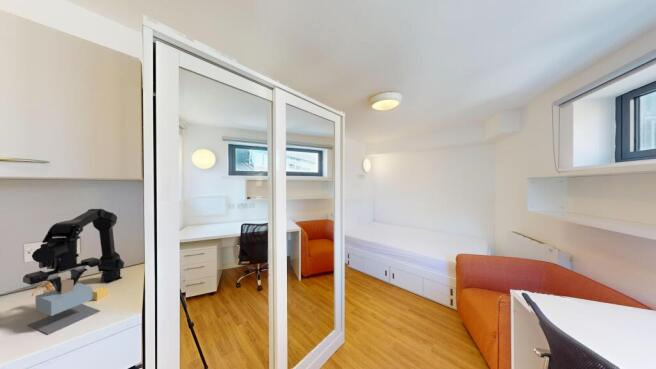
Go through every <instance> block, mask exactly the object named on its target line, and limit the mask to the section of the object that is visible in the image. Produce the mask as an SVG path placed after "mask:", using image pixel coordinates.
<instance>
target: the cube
mask: <svg viewBox="0 0 656 369" xmlns="http://www.w3.org/2000/svg"><path fill="white" fill-rule="evenodd" d="M107 297H109V288H108V287H107V286H106V287H105V286H102V287H99V288H97V289H92V300H93V301H96V302H98V301H100V300H103V299H105V298H107Z"/></svg>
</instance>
